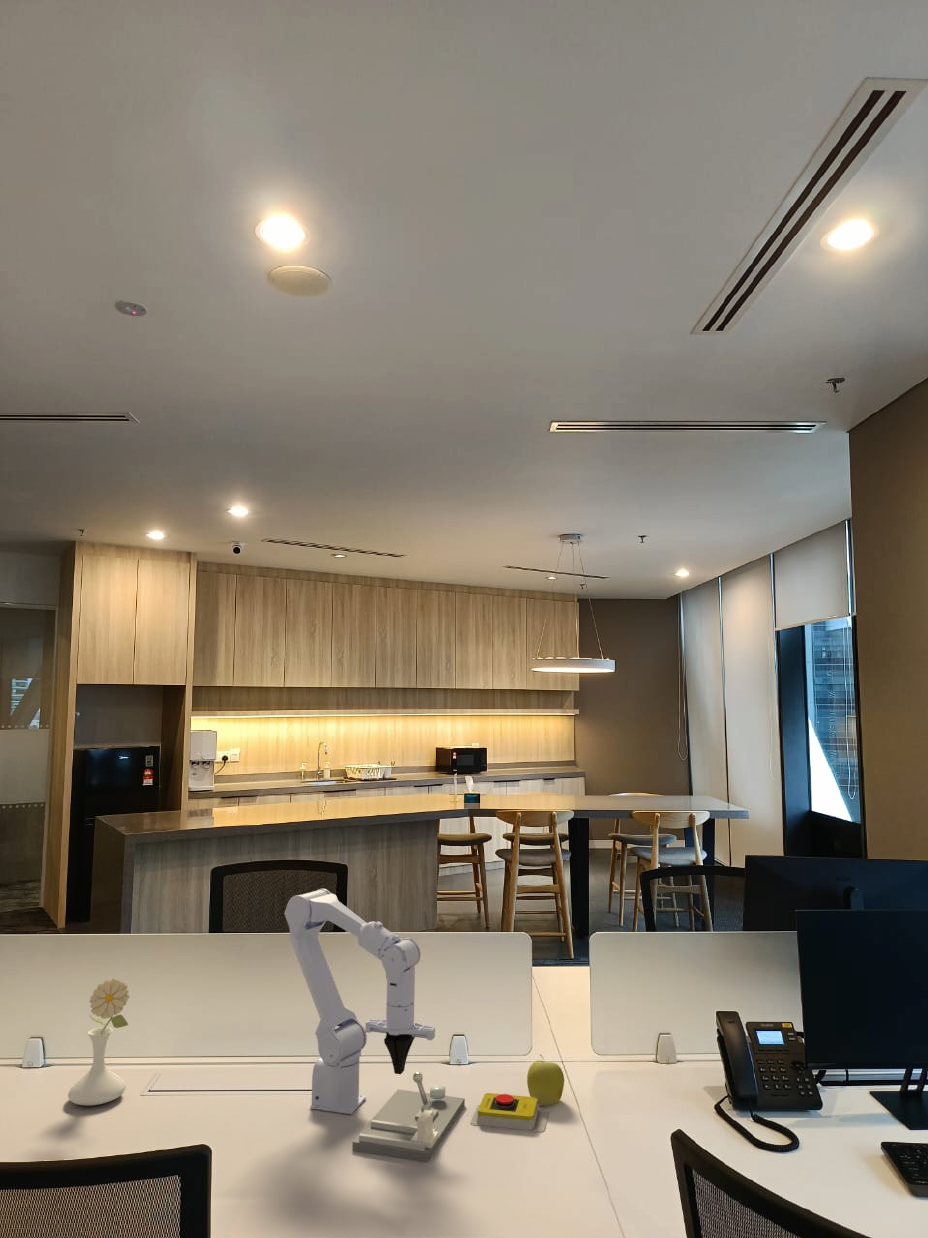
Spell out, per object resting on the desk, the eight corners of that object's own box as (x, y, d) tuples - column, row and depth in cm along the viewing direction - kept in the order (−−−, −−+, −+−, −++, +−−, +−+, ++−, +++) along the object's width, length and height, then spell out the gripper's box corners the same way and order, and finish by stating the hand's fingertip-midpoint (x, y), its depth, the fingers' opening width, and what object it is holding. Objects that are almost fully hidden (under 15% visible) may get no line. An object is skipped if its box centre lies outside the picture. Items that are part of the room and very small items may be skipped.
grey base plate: (352, 1150, 162) (352, 1136, 162) (397, 1096, 184) (397, 1084, 185) (427, 1162, 157) (427, 1148, 158) (464, 1106, 180) (464, 1093, 180)
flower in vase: (54, 1105, 179) (61, 981, 182) (96, 1084, 190) (102, 967, 193) (102, 1117, 174) (109, 989, 177) (143, 1094, 185) (148, 974, 188)
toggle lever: (421, 1115, 171) (409, 1076, 173) (425, 1110, 174) (413, 1071, 175) (430, 1113, 171) (418, 1073, 172) (434, 1107, 173) (422, 1069, 175)
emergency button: (477, 1085, 181) (548, 1092, 178) (477, 1107, 181) (549, 1114, 178) (469, 1105, 172) (543, 1112, 169) (469, 1128, 172) (544, 1135, 169)
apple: (551, 1110, 176) (540, 1057, 179) (524, 1110, 181) (515, 1058, 185) (576, 1100, 181) (566, 1048, 184) (550, 1099, 186) (540, 1049, 190)
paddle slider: (410, 1145, 160) (411, 1119, 161) (418, 1134, 164) (418, 1109, 165) (431, 1148, 159) (431, 1122, 160) (438, 1137, 163) (438, 1112, 164)
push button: (427, 1098, 178) (428, 1090, 178) (432, 1092, 181) (432, 1084, 181) (442, 1100, 177) (442, 1092, 177) (447, 1094, 180) (447, 1086, 180)
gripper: (360, 1005, 174) (358, 1075, 173) (427, 1012, 170) (426, 1085, 169) (373, 994, 181) (372, 1062, 179) (438, 1001, 177) (437, 1070, 175)
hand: (399, 1072), depth 174 cm, fingers closed
